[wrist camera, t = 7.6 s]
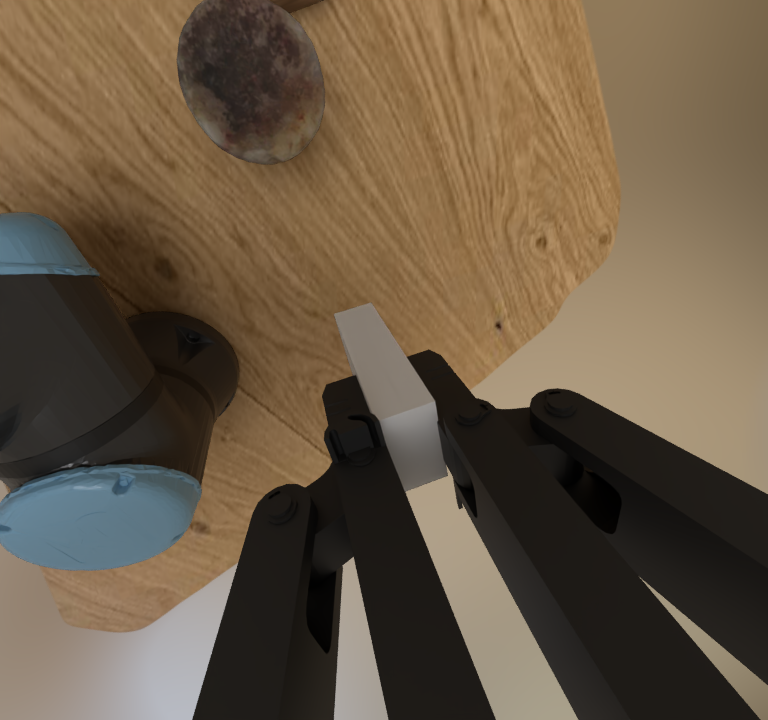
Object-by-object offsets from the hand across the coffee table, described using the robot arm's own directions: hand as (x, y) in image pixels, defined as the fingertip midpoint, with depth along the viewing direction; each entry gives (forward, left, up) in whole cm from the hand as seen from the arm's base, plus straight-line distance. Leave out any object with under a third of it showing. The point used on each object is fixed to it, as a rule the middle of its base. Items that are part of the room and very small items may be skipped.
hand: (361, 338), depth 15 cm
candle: (-2, +9, -31) cm, 32 cm away
